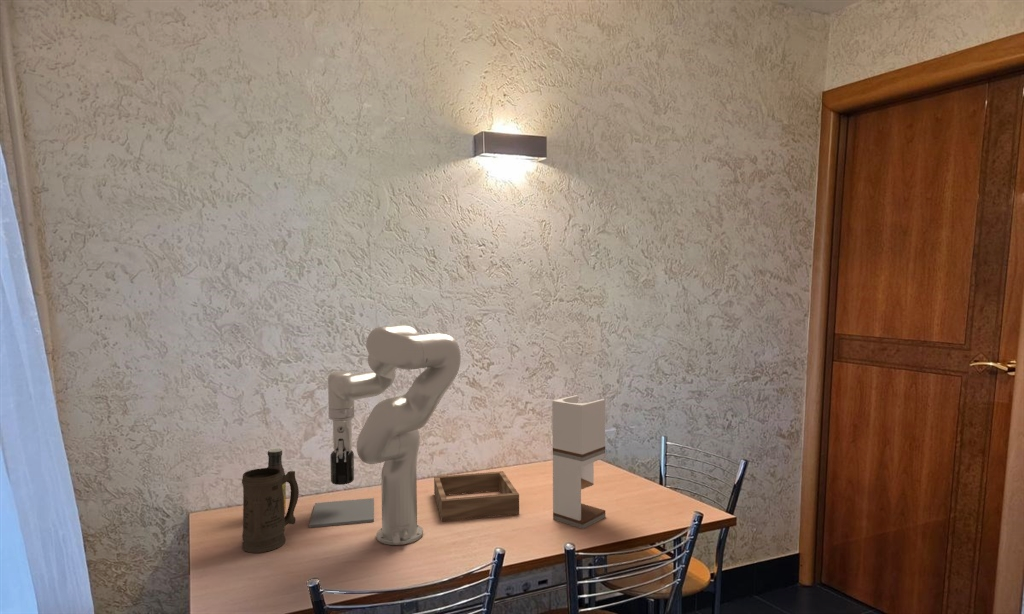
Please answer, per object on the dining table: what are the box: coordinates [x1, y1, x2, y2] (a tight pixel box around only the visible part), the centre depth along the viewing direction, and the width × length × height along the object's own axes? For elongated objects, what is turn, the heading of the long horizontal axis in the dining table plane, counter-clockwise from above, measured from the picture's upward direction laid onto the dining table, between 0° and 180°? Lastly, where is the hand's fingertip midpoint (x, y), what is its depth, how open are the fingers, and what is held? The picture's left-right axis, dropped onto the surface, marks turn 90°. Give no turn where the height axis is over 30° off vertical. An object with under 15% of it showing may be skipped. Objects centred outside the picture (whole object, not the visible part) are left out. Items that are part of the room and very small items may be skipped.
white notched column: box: [551, 394, 606, 530], centre depth 177 cm, size 11×11×35 cm
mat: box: [308, 497, 375, 529], centre depth 183 cm, size 18×18×1 cm
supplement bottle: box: [329, 440, 355, 486], centre depth 182 cm, size 7×7×12 cm
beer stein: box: [241, 467, 300, 554], centre depth 162 cm, size 15×11×20 cm
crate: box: [433, 471, 520, 522], centre depth 189 cm, size 23×23×6 cm
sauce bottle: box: [266, 448, 287, 515], centre depth 181 cm, size 6×6×20 cm
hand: (342, 470), depth 182 cm, fingers closed on supplement bottle, 6 cm apart
